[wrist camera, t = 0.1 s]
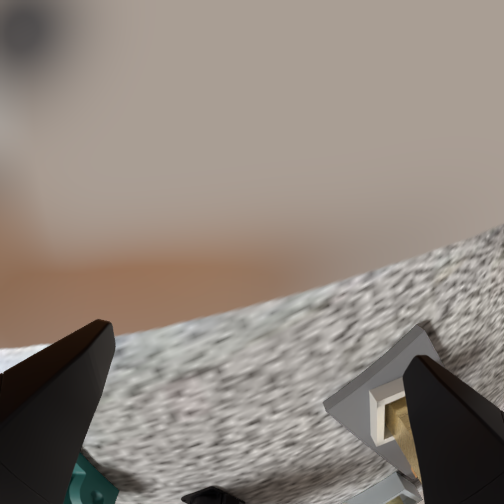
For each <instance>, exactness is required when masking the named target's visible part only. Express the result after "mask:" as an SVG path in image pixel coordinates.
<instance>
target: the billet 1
mask: <svg viewBox="0 0 504 504" xmlns="http://www.w3.org/2000/svg"><path fill="white" fill-rule="evenodd" d="M384 422H385V424H386V425H387V427H388V429H389V430H390V432H391V434H392V435H393V437H394V439H395V440H396V442H397V443H398V445H399V447H400V448H401V450H402V452H403V453H404V455H405V457H406V458H407V460H408V462H409V463H410V465H411V467H412V468H413V470H414V472H415V473H416V475H417V477H418V479H419V480H420V482H421V476H420V470H419V465H418V459H417V454H416V449H415V445H414V440H413V436H412V431H411V427H410V422H409V417H408V411H407V404H406V397H405V396H404V397H402V398H400V399H397V400H395V401H393V402H390V403H388V404H385V417H384ZM421 484H422V482H421Z"/></svg>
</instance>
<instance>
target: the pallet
mask: <svg viewBox="0 0 504 504" xmlns="http://www.w3.org/2000/svg"><path fill="white" fill-rule="evenodd" d="M416 355H427V356H429V357H430V358H432V359H433V360H434V361H436V362H437V363H439V364H440V365H441V366H443V367H444V365H443V363H442V361H441V359H440V357H439V355H438V353H437V352H436V350H435V348H434V346H433V344H432V343H431V341H430V339H429V337H428V335H427V334H426V332H425V330H424V329H422V328H421V327H420V326H418V325H416V326H415V327H414V328H412V329H411V330H410V331H409V332H408V333H407V334H406V335H405V336H404V337H403V338H402V339H401V340H400V341H399V342H398V343H397V344H395V345H394V346H393V347H392V348H391V349H390V350H389V351H388V352H386V353H385V354H384V355H383V356H382V357H381V358H380V359H378V360H377V361H376V362H375V363H374V364H372V365H371V366H370V367H369V368H368V369H366V370H365V371H364V372H363V373H361V374H360V375H359V376H358V377H356V378H355V379H354V380H353V381H351V382H350V383H349V384H347V385H346V386H345V387H343V388H342V389H341V390H339V391H338V392H337V393H335V394H334V395H333V396H331V397H330V398H328V399H327V400H326V401H324V402H323V404H324V407H325V409H326V412H327V413H329V414H330V415H331V416H332V417H333V418H334V419H336V420H337V421H338V422H339V423H340V424H341V425H343V426H344V427H345V428H346V429H347V430H349V431H350V432H351V433H352V434H354V435H355V436H356V437H357V438H358V439H360V440H361V441H362V442H363V443H365V444H366V445H367V446H368V447H370V448H371V449H372V450H373V451H375V452H376V453H377V454H379V455H380V456H381V457H382V458H384V459H385V460H386V461H388V462H389V463H390V464H392V465H393V466H394V467H396V468H397V469H398V470H400V471H401V472H402V473H404V474H405V475H406V476H408V477H409V478H411V479H412V480H414V479H415V478H417V475H416V473H415V472H414V470H413V468H412V467H411V465H410V463H409V462H408V460H407V458H406V457H405V455H404V453H403V452H402V450H401V448H400V447H399V445H398V443H397V442H396V440H395V439H394V437H393V435H392V434H391V432H390V430H389V429H388V427H387V425H386V424H385V422H384V417H385V404H388V403H390V402H393V401H395V400H397V399H400V398H402V397H404V396H405V391H404V385H403V374H404V371H405V370H406V368H407V367H408V365H409V363H410V362H411V360H412V359H413V357H414V356H416ZM444 368H445V367H444Z"/></svg>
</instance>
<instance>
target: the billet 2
mask: <svg viewBox="0 0 504 504" xmlns="http://www.w3.org/2000/svg"><path fill="white" fill-rule="evenodd" d="M385 504H404V503H403V501H402V499H401V497H400V495H399V496H397V497H395V498H394V499H392V500H391V501H389V502H387V503H385Z"/></svg>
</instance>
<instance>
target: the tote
mask: <svg viewBox="0 0 504 504" xmlns="http://www.w3.org/2000/svg"><path fill="white" fill-rule="evenodd" d="M399 495H400V497H401V499H402V501H403V503H404V504H417V503H419V502H420V501H422V500H423V499H422V498H421V496H420V494H419V492H418V490H417V488H416V487H415V485H414V484H412V483H411V482H410V481H408V480H407V479H405V478H404V477H402V476H401V475H400V474H398V473H397V472H395V473H393V474H392V475H390V476H388V477H387V478H385V479H384V480H382V481H381V482H379V483H377V484H376V485H374V486H372V487H371V488H369V489H367V490H365V491H364V492H362V493H360V494H358V495H356V496H355V497H353V498H351V499H349V500H347V501H345V502H343V503H341V504H385V503H387V502H389V501H391V500H392V499H394V498H395V497H397V496H399Z"/></svg>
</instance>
